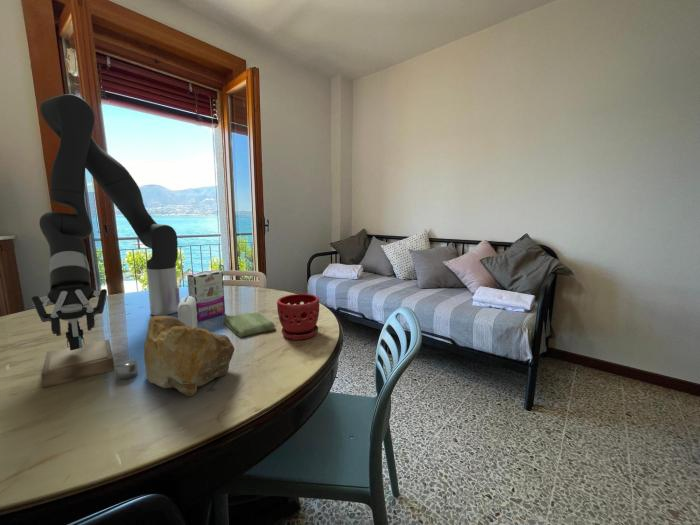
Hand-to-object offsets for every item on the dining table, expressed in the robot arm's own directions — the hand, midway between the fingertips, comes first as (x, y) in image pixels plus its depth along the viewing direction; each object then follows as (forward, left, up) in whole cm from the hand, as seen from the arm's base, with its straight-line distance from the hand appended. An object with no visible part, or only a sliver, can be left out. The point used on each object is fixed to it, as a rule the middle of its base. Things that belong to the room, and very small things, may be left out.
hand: (74, 331), depth 70 cm
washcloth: (-43, -2, -10) cm, 44 cm away
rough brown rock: (-20, +21, -10) cm, 31 cm away
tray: (0, -2, -10) cm, 10 cm away
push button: (0, -2, -4) cm, 5 cm away
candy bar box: (-35, -21, -10) cm, 42 cm away
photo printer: (-25, -6, -10) cm, 28 cm away
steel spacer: (-8, +10, -10) cm, 16 cm away
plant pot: (-52, +14, -10) cm, 55 cm away
